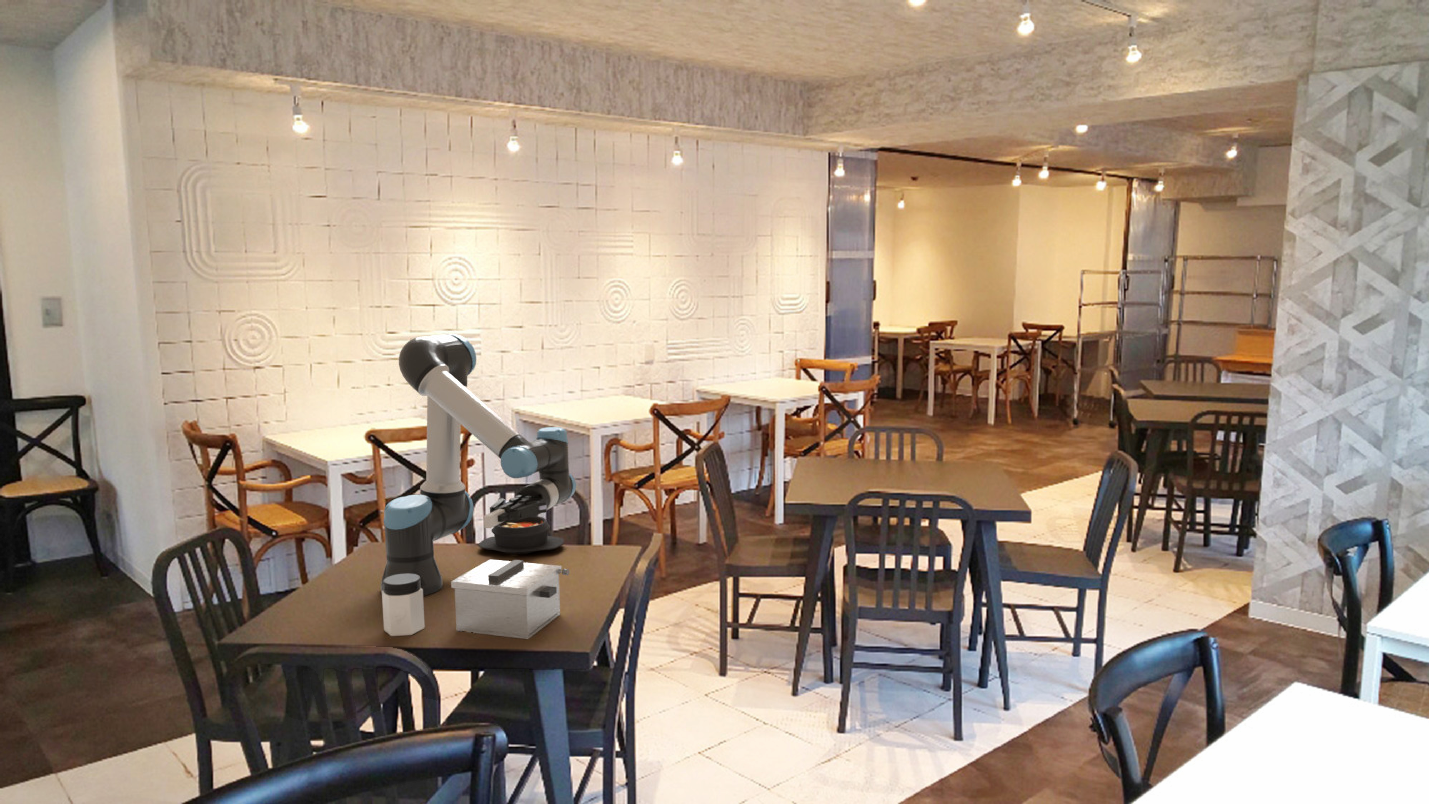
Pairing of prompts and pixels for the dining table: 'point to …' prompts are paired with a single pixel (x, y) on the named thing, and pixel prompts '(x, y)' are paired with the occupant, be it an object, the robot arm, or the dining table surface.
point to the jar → (402, 604)
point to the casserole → (521, 536)
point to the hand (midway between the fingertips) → (487, 522)
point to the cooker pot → (508, 610)
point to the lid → (507, 577)
